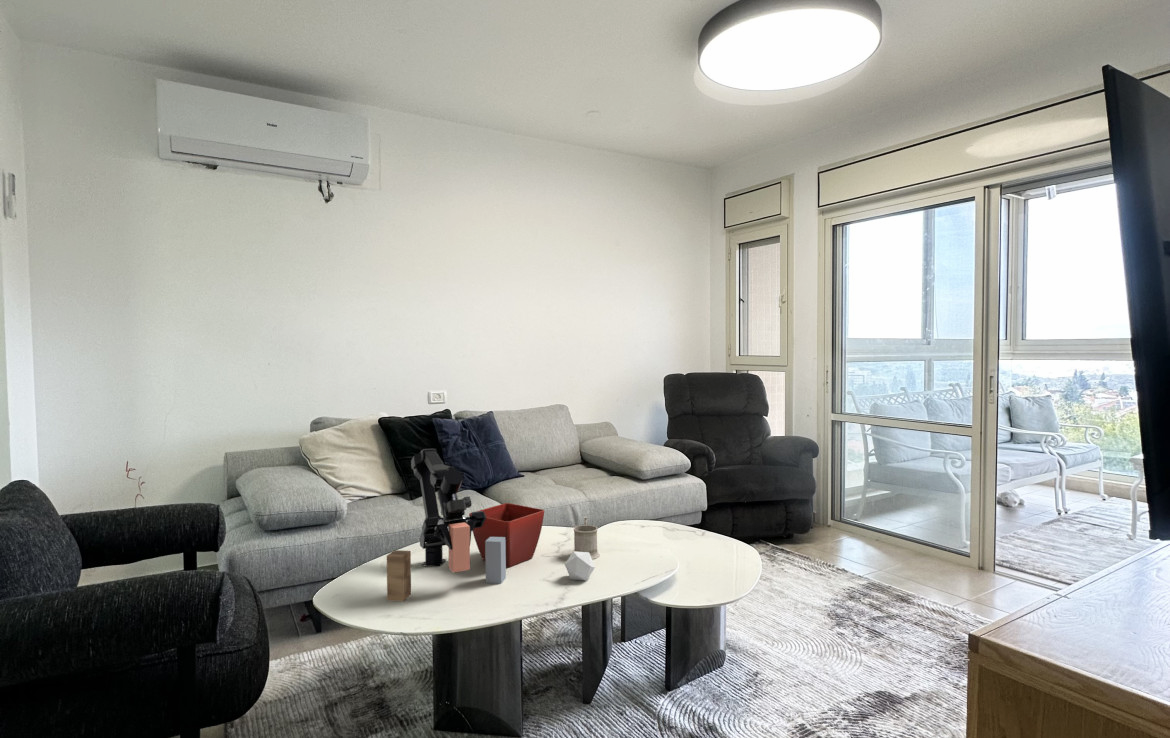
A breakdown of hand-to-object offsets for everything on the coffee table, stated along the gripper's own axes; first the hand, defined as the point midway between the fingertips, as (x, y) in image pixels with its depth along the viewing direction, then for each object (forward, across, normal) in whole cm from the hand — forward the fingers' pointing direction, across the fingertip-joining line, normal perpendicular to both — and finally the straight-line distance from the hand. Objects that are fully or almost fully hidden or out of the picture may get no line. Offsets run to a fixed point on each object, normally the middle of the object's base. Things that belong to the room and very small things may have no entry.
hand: (460, 547), depth 180 cm
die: (+15, +36, +4) cm, 39 cm away
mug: (0, +50, +19) cm, 54 cm away
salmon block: (+4, 0, +6) cm, 7 cm away
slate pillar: (+6, +13, +13) cm, 19 cm away
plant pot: (-5, +23, +25) cm, 34 cm away
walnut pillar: (+6, -17, +14) cm, 22 cm away
